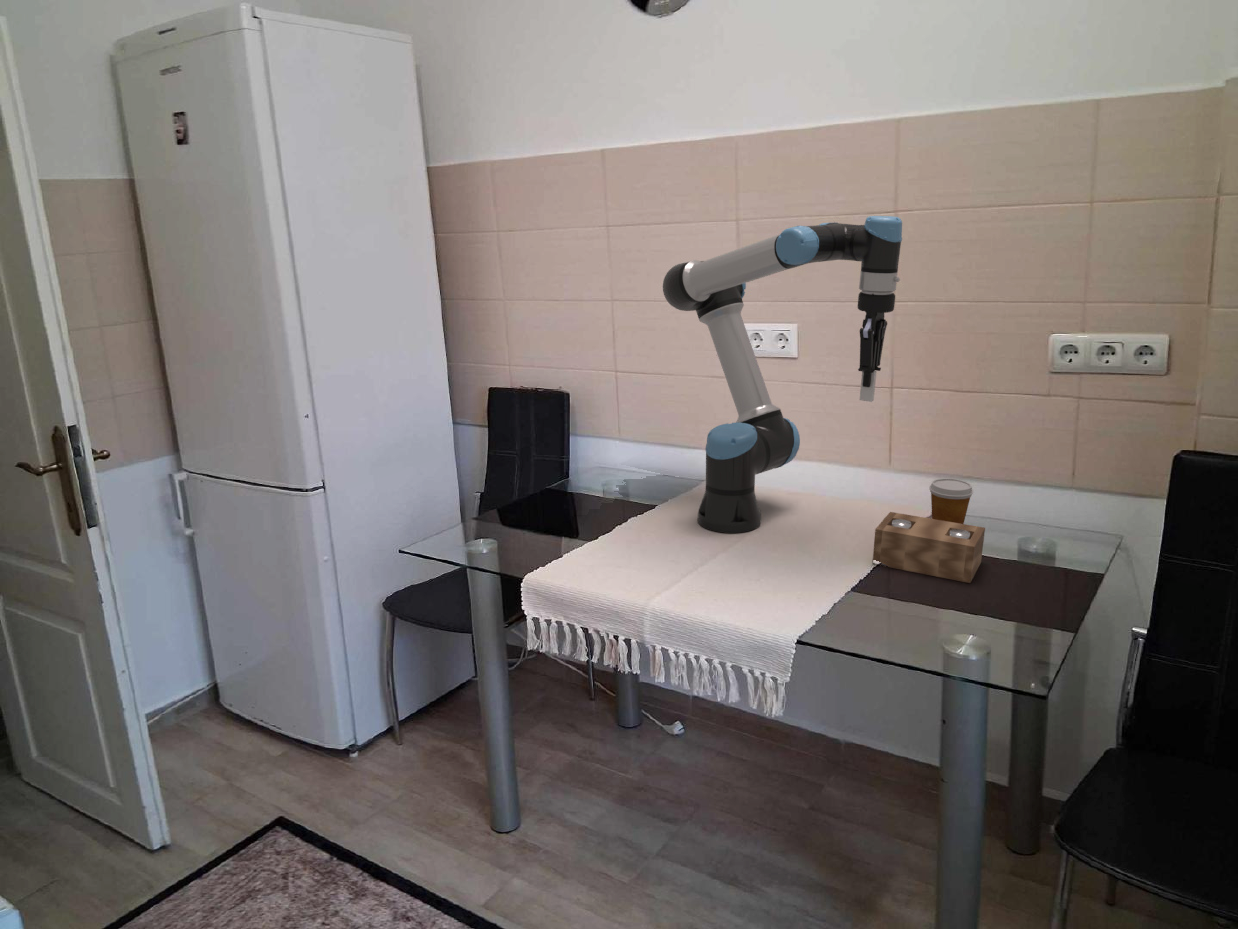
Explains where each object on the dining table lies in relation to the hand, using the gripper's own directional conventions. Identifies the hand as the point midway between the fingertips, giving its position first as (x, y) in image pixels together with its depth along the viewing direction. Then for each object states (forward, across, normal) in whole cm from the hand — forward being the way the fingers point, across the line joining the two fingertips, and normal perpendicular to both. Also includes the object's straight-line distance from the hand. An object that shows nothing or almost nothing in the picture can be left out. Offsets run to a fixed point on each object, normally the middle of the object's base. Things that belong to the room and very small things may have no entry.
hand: (866, 400), depth 200 cm
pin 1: (+32, -7, -12) cm, 35 cm away
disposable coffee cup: (+32, +13, -18) cm, 39 cm away
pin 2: (+32, -7, -24) cm, 40 cm away
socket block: (+32, -7, -18) cm, 37 cm away
